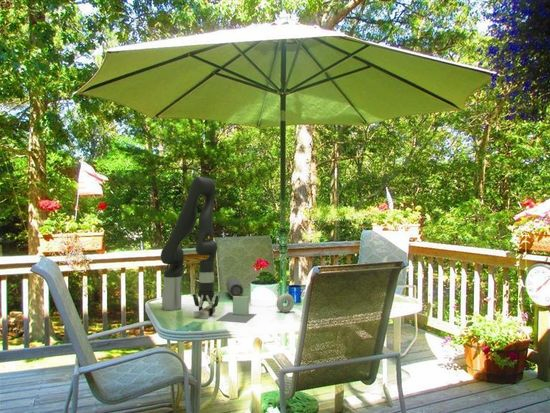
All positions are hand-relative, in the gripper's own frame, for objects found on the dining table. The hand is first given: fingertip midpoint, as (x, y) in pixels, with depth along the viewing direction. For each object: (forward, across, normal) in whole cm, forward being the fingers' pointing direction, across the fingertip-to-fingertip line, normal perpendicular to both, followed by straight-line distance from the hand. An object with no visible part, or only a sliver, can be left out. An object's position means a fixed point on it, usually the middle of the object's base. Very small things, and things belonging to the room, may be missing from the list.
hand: (206, 314), depth 233 cm
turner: (+1, 0, +2) cm, 2 cm away
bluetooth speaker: (+1, -3, +53) cm, 53 cm away
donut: (+1, +36, +20) cm, 41 cm away
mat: (+1, +16, 0) cm, 16 cm away
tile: (0, +16, +6) cm, 17 cm away
